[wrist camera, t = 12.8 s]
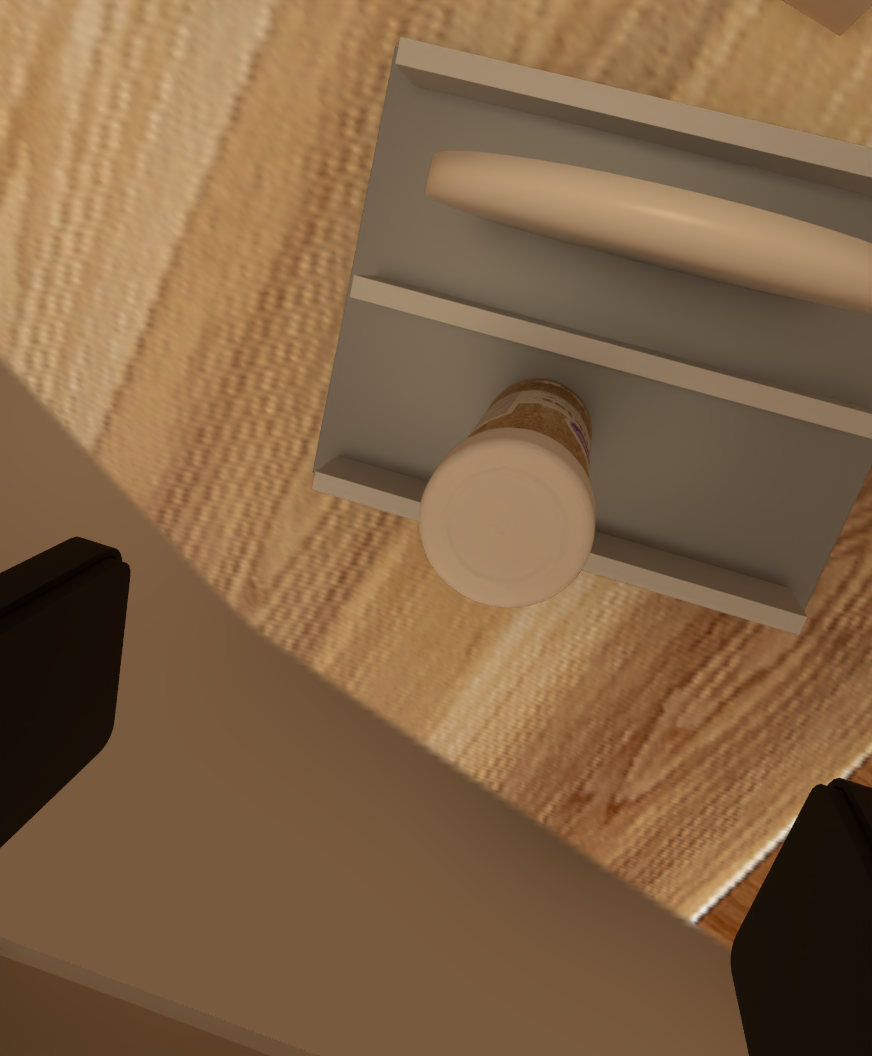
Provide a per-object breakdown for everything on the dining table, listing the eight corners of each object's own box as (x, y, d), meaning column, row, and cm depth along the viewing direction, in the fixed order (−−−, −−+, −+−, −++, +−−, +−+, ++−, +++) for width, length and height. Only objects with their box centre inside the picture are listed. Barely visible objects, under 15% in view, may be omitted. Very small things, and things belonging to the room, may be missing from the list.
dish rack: (983, 193, 27) (1424, 95, 13) (793, 605, 33) (952, 851, 19) (402, 55, 29) (229, -161, 15) (321, 466, 35) (141, 591, 21)
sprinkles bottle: (614, 440, 31) (634, 549, 18) (526, 504, 32) (489, 645, 20) (546, 352, 30) (519, 402, 18) (460, 421, 32) (378, 512, 19)
